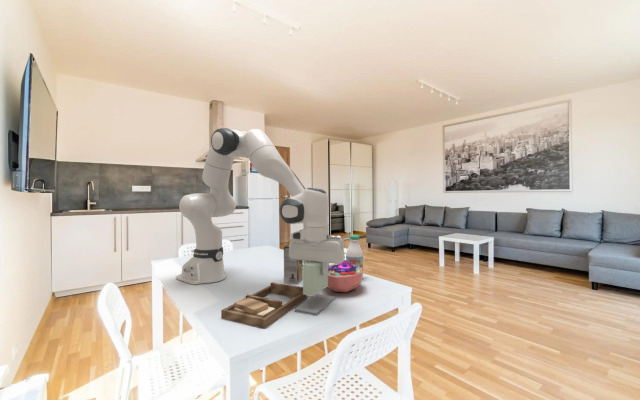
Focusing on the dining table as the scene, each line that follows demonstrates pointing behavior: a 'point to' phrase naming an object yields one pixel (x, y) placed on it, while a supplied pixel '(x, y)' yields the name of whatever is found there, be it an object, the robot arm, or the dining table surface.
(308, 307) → the slate pad
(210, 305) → the dining table surface
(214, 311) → the dining table surface
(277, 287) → the frame
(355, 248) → the milk bottle
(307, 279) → the pale green cuboid
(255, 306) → the offcut stack
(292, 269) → the coffee box
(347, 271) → the cell model
